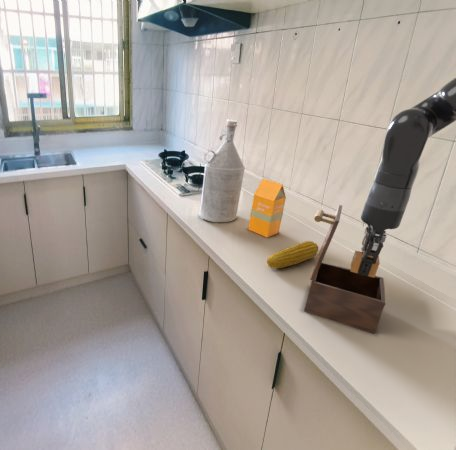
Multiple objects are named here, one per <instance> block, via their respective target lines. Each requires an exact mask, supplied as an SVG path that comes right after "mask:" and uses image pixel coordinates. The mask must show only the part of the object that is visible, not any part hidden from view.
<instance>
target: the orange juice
mask: <svg viewBox="0 0 456 450" xmlns="http://www.w3.org/2000/svg"><path fill="white" fill-rule="evenodd" d="M285 192H286V191H285V188H284V184H283V183H280V182H276V181H272V180H269V179H265V178H262V179H261V181H260V182H259V184H258V186H257V188H256V190H255V192H254V194H253V199H252V205H251V209H250V217H249V223H248V230H249V231H251V232H253V233H256V234H258V235H260V236H263V237H265V238H269V237H272V236H274V235H277V234H279V233H280V228H281V223H282V218H283V215H284V209H285V208H284V207H285V203H286V199H287V197H286V193H285Z"/></svg>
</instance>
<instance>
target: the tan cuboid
mask: <svg viewBox="0 0 456 450" xmlns="http://www.w3.org/2000/svg"><path fill="white" fill-rule="evenodd" d="M362 256H363V252H362V251H361V250H354V253H353V256H352V259H351V263H350V269H351V270H350V271H351V272H354V273H358V269H359V266H360V263H361V260H362V259H361V257H362ZM368 257H373V256H370V255H368ZM379 266H380V256H378V258H377V260H376V263H375V264H372V267H371V269H370V272H369V275H368V276H369V277H373V278H374V277H375V276H376V274H377V271H378V268H379Z"/></svg>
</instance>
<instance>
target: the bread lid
mask: <svg viewBox="0 0 456 450" xmlns="http://www.w3.org/2000/svg"><path fill="white" fill-rule="evenodd" d="M342 209H343V204H338V206H337V209H336V211H335V213H334V215H333V214H330V213H327V212H325V211H324V210H323V209H317V210H316V212H315V216H314V218H313V219H314V222H316V223H320V222H323V223H326V224H328V225H330V226H329V228H328V230H327V232H326V235H325V237H324V240H323V241H322V244H321V247H320V249H319V251H318V253H317V255H316V256H317V257H316V259H315V262H314V265H313V269H312V272H311V276H310V281H312V280H313V281H314V279H315V277H316V274H317V272H318V270H319V267H320V265H321V263H322V262H323V260H324V258H325V256H326V253H327V251H328V249H329V246H330V244H331V242H332V240H333V237H334V235H335V232H336V230H337V228H338V225H339V223H340V219H341V215H342Z"/></svg>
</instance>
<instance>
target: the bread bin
mask: <svg viewBox="0 0 456 450" xmlns="http://www.w3.org/2000/svg"><path fill="white" fill-rule="evenodd" d="M350 270H351V268H347V267H343V266H341V265H336V264H332V263H328V262H324V261H322V263H321V265H320V267H319V270H318V272H317V274H316V277H315V279H314V281H313V280H311V282H310V287H309V289H308V294H307V297H306V301H305V305H304V309H303V312H305V313H306V312H307V313H309V314H312V315H316V316H318V317H322V318H324V319H328V320H331V321H334V322H337V323H340V324H343V325H346V326H349V327H352V328H355V329H359V330H361V331H365V332H368V333H371V334H375V332H376V330H377V327H378V324H379V321H380V320H381V316H382V314H383V311H384V309H385V306H386V294H385V293H386V291H385V280H384V279H385V278H384V277H382V276H378V275H375V277H374V278H373V277H369V276H363V275H359V274H358V273H354V272H351V271H350Z"/></svg>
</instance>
